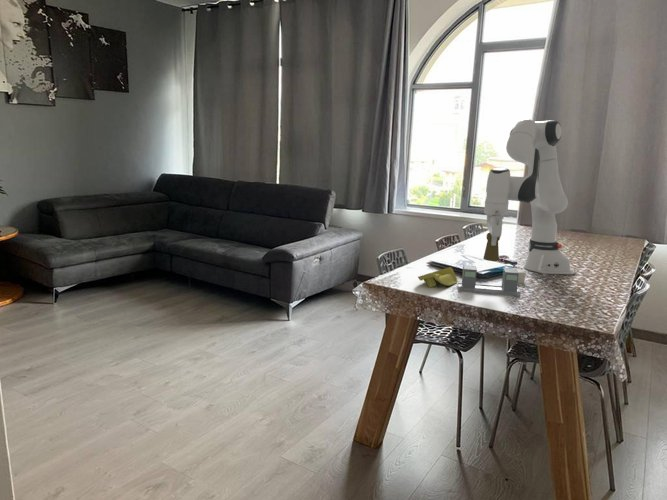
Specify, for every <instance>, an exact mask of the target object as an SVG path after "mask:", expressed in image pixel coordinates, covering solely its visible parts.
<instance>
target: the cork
mask: <svg viewBox="0 0 667 500" xmlns="http://www.w3.org/2000/svg"><path fill="white" fill-rule="evenodd" d="M491 239H492V236H491V234H490V232H488V233H487V234H486V240H487V241H486V242H487V243H486V245H485V251H484V255H483V258H482V259H483V260H485V261H487V262H498V261H500V256H499V255H500V254H499V250H500V249H499V241H500V239H501V237H497V241H496V245H495V246H492V245H491Z"/></svg>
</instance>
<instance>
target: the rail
mask: <svg viewBox="0 0 667 500" xmlns="http://www.w3.org/2000/svg"><path fill="white" fill-rule="evenodd" d="M457 290H458V291H457V292H461V293H462V292H465V293H475V294H476V293H477V294H488V295H498V296H500V295H501V296H509V297H511V296H512V297H521V291H520V289H519V286H517V293H516V292H504V290H503V289H502V285H497V284H488V283H487V284H485V283H476V285H475V289H468V288H462V281H460V282H459V281H457Z"/></svg>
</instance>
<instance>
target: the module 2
mask: <svg viewBox="0 0 667 500" xmlns="http://www.w3.org/2000/svg"><path fill="white" fill-rule="evenodd" d="M502 269H503V270H502V278H501V279H502V280H501V286H502V289H503V290H504V292H516V293H517V287H518V284H519V283H518V276H519V272H518V271H517V268H512V267H502Z"/></svg>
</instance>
